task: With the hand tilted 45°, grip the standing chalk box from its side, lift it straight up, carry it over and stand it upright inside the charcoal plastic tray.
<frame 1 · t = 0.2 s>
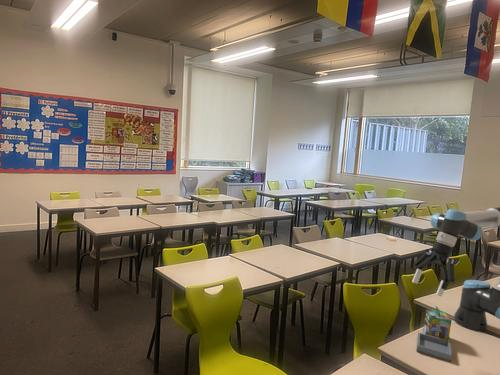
hand: (426, 289, 161), 27 cm above the table, tool tilted 15°, fingers open, 13 cm apart
chalk box: (434, 337, 175), on the table
tray: (433, 349, 164), on the table
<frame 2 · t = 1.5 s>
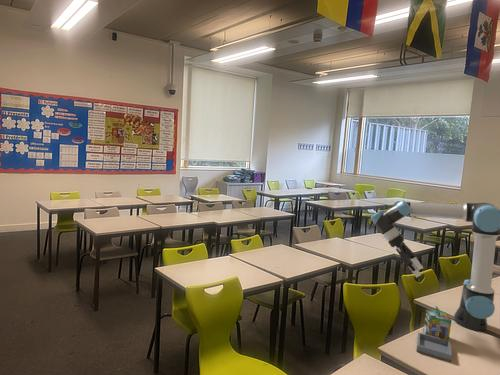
hand: (420, 272, 188), 26 cm above the table, tool tilted 45°, fingers open, 13 cm apart
nothing on the table moved.
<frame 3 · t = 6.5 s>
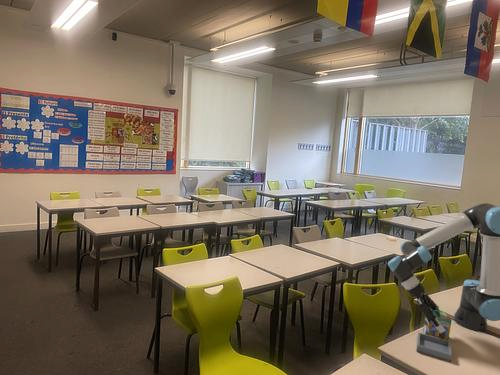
hand: (443, 326, 173), 6 cm above the table, tool tilted 45°, fingers closed on chalk box, 11 cm apart
chalk box: (434, 337, 175), on the table, touching gripper
when the fingers open (8 cm above the table, at t = 13.6 s): chalk box drops 1 cm, resting on tray.
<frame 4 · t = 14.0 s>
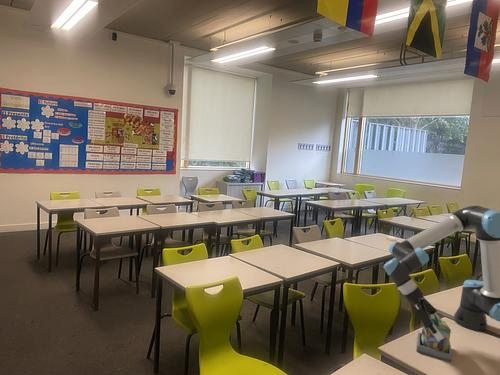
hand: (442, 333, 162), 9 cm above the table, tool tilted 45°, fingers open, 13 cm apart
chalk box: (433, 348, 164), point 1 cm above the table, touching tray
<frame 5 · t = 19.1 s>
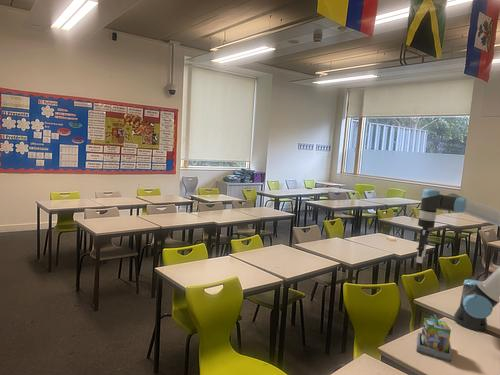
hand: (420, 259, 190), 32 cm above the table, tool pointing down, fingers open, 13 cm apart
nothing on the table moved.
at the end: chalk box 0.2 cm off-centre on the tray, point 0.6 cm above the tray's base; chalk box tilted 0°; the gripper is holding nothing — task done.
